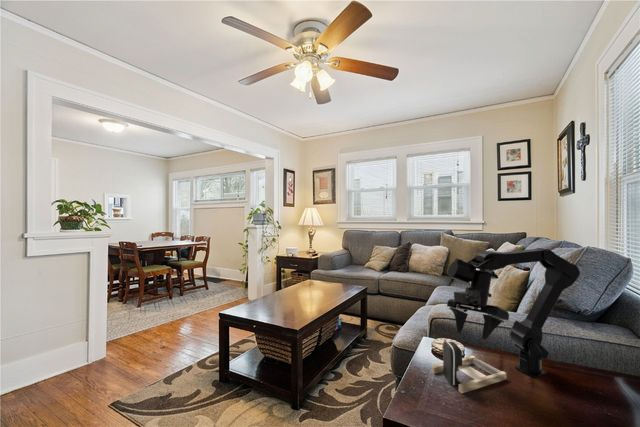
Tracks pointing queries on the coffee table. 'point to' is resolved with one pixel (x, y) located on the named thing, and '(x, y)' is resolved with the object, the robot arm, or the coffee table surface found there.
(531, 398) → the coffee table surface
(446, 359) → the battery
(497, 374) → the guide channel
